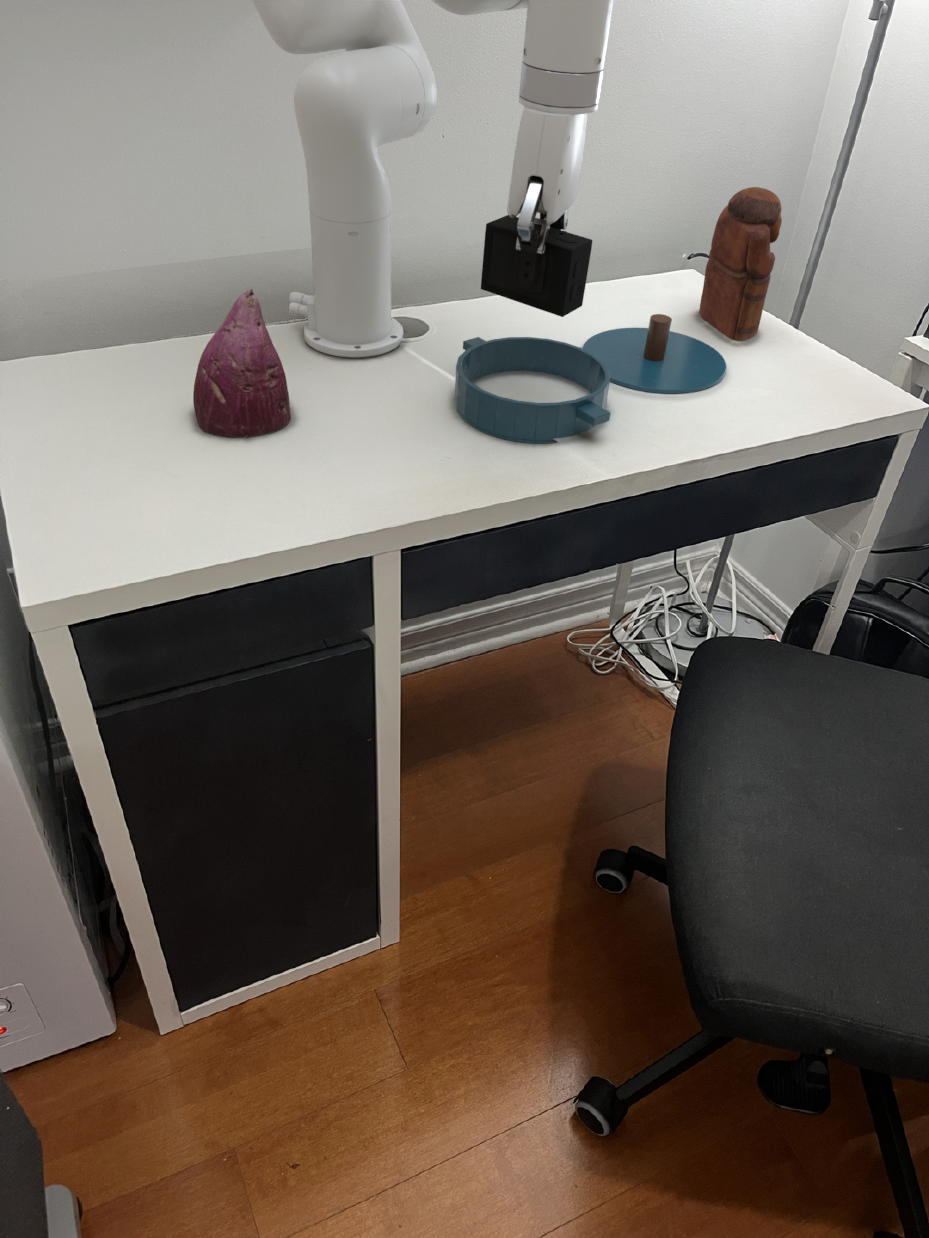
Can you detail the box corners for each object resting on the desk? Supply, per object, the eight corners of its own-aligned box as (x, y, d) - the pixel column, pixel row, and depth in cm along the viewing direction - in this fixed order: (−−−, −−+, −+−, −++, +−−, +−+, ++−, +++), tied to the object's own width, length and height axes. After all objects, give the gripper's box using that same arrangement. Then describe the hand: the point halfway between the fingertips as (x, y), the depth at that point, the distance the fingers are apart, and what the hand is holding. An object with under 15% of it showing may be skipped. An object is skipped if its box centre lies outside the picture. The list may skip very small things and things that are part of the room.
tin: (537, 470, 98) (542, 431, 95) (411, 386, 111) (412, 349, 108) (652, 427, 107) (659, 389, 104) (522, 353, 120) (525, 318, 117)
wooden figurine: (771, 343, 126) (809, 201, 115) (729, 347, 124) (764, 204, 113) (725, 309, 135) (757, 174, 123) (686, 312, 133) (714, 176, 121)
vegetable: (255, 414, 111) (261, 279, 105) (308, 437, 105) (318, 296, 98) (173, 419, 104) (175, 275, 97) (225, 444, 97) (230, 292, 91)
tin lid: (655, 412, 109) (664, 362, 105) (551, 355, 120) (556, 308, 116) (754, 375, 118) (766, 328, 114) (649, 325, 129) (657, 280, 125)
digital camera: (589, 303, 101) (600, 236, 96) (563, 318, 97) (573, 249, 93) (508, 276, 105) (514, 211, 100) (480, 289, 101) (486, 222, 97)
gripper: (547, 65, 95) (527, 246, 107) (492, 99, 83) (476, 300, 94) (620, 76, 93) (591, 258, 105) (575, 113, 81) (548, 315, 93)
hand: (537, 276), depth 100 cm, fingers closed on digital camera, 6 cm apart
